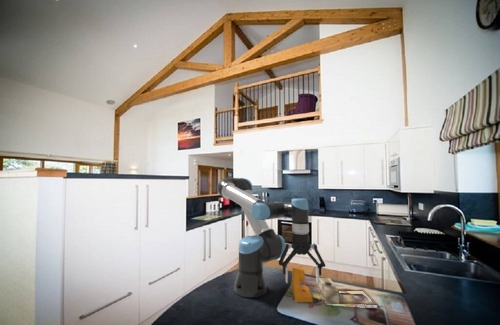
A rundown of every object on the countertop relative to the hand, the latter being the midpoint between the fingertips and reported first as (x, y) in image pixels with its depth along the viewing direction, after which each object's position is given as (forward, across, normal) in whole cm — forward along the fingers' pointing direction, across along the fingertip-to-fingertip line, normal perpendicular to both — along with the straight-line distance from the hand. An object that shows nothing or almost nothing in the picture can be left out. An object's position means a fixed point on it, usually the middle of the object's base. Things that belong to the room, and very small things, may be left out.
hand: (302, 282), depth 91 cm
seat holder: (+6, +19, 0) cm, 20 cm away
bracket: (+6, 0, 0) cm, 6 cm away
